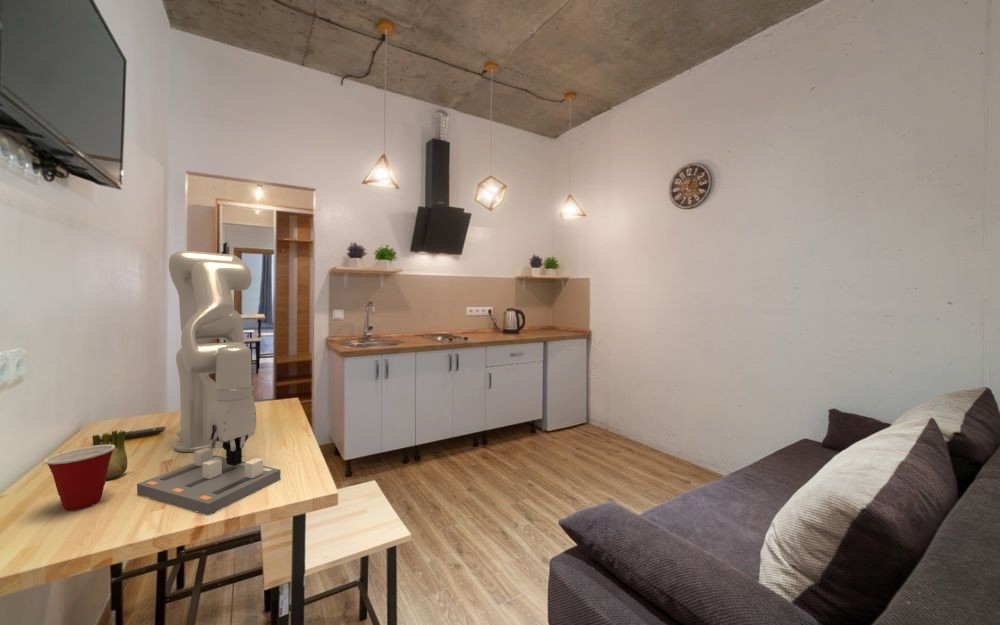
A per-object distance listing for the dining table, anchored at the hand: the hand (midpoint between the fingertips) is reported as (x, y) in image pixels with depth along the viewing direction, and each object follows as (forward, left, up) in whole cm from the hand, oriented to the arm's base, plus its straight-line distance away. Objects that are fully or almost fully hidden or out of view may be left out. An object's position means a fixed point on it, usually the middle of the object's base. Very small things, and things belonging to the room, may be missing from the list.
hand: (234, 463), depth 102 cm
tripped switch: (0, -6, -1) cm, 6 cm away
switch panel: (0, -6, -3) cm, 7 cm away
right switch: (+9, -2, -1) cm, 9 cm away
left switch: (-9, -2, -1) cm, 9 cm away
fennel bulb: (-28, -12, -4) cm, 31 cm away
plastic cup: (-18, -22, -4) cm, 28 cm away
